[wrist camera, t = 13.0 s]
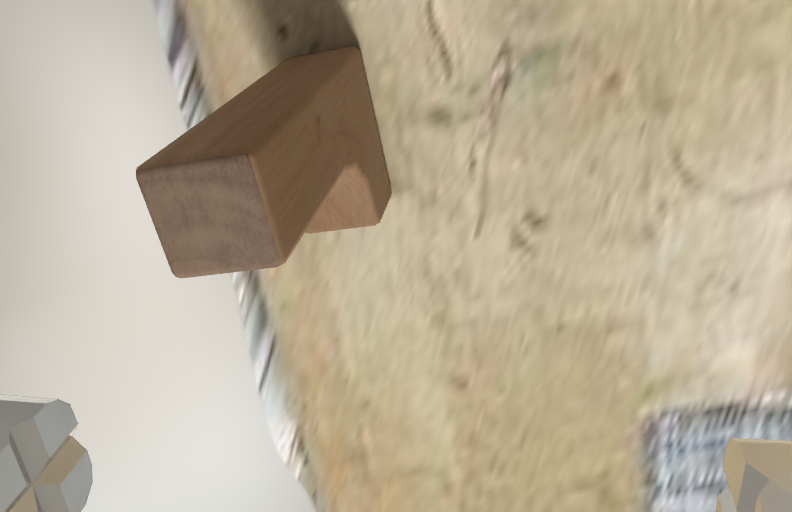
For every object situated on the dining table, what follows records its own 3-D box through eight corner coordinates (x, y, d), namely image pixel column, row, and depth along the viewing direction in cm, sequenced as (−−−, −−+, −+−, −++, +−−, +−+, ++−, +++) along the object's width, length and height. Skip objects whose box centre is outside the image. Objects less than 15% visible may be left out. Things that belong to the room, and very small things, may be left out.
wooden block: (394, 195, 43) (317, 375, 27) (323, 205, 44) (209, 383, 28) (360, 43, 39) (248, 149, 24) (283, 58, 40) (127, 168, 25)
